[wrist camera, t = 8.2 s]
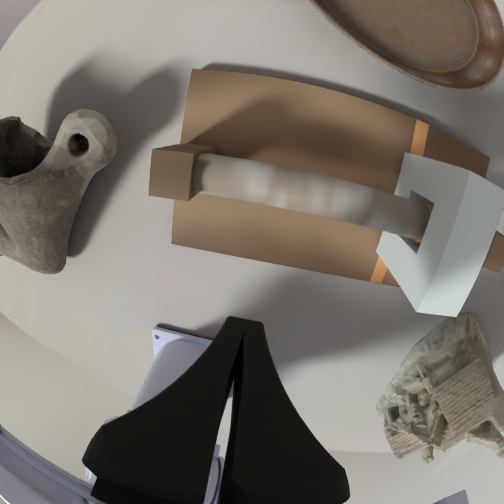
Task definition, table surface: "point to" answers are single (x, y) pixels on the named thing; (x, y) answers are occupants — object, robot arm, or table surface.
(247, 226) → the rod stand
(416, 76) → the plant saucer
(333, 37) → the table surface
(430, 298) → the collar
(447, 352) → the ceramic cottage
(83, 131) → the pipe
